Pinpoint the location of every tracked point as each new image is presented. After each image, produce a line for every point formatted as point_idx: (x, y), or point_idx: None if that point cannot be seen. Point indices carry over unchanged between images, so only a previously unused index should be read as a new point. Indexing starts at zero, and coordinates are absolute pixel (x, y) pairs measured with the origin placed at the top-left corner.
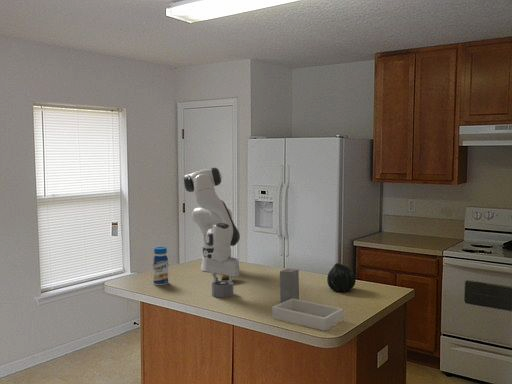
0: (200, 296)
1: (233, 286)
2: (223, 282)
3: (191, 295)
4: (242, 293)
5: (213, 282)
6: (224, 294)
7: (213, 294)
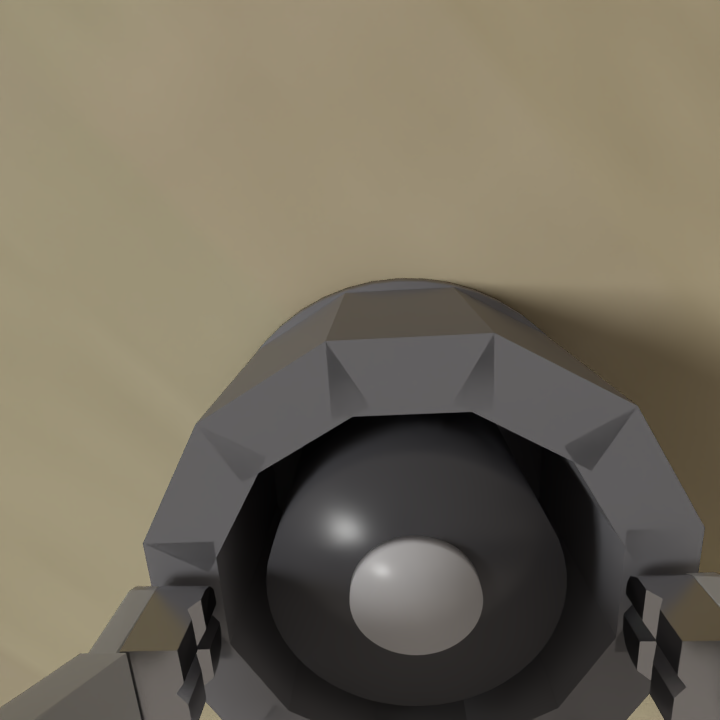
0: None
1: (595, 375)
2: (399, 559)
3: None
4: (641, 168)
5: None
6: None
7: None
